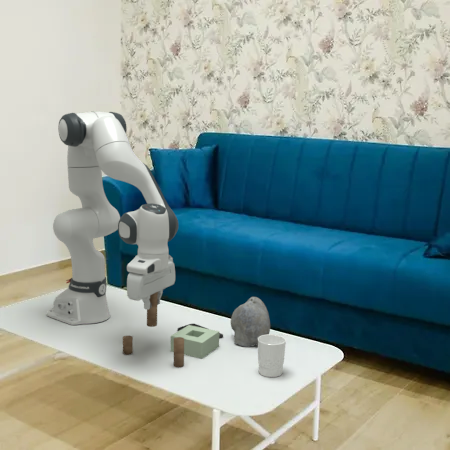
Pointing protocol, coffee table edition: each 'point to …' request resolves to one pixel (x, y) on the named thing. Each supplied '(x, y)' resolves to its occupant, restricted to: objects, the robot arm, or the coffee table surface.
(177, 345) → the pin medium
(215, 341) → the socket block
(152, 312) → the pin long
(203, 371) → the coffee table surface
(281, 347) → the white cup
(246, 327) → the decorative stone
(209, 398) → the coffee table surface
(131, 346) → the pin short
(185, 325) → the phone
